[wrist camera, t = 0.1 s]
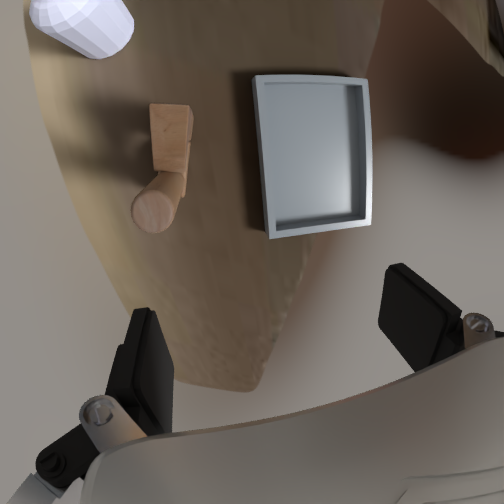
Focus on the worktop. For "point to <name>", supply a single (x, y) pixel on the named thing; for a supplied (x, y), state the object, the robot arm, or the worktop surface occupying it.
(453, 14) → the worktop surface
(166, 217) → the wooden mallet
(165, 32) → the worktop surface
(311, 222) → the tray
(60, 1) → the soap bottle
